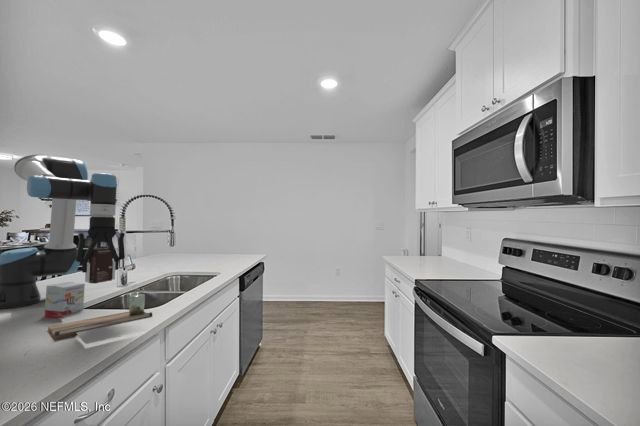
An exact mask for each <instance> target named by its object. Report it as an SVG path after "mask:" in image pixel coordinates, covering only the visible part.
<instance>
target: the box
mask: <svg viewBox="0 0 640 426" xmlns="http://www.w3.org/2000/svg"><path fill="white" fill-rule="evenodd" d="M113 261H114V259H113V253H112V251H111V249H110V248H109V247H96V248H95V247H94V250H93V252H92V254H91V256H90V258H89V260H88V263H90V278H89V282H87V283H89V284H99V283H106V282H110V281H112V265H113Z"/></svg>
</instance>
